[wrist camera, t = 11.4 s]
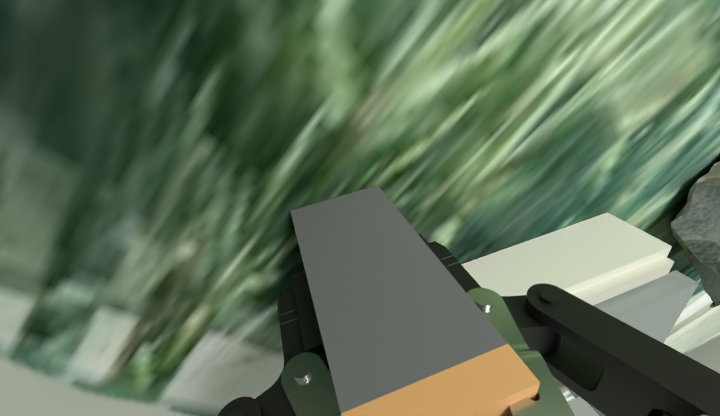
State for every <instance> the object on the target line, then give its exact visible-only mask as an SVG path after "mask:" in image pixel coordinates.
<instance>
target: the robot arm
mask: <svg viewBox="0 0 720 416" xmlns="http://www.w3.org/2000/svg"><path fill="white" fill-rule="evenodd" d="M418 235H419V236H420V237H421V238H422V240H423V241H424V242H425V243H426V245H427V246H428V247H429V248H430V249H431V251H432V252H433V253H434V254H435V255H436V257H437V258H438V259H439V260H440V262H441V263H442V264H443V265H444V266H445V268H446V269H447V270H448V271H449V272H450V274H451V275H452V276H453V277H454V278H455V280H456V281H457V282H458V283H459V285H460V286H461V287H462V288H463V289H464V291H465V292H466V293H467V294H468V295H469V297H470V298H471V299H472V300H473V302H474V303H475V304H476V305H477V306H478V308H479V309H480V310H481V311H482V312H483V314H484V315H485V316H486V317H487V318H488V320H489V321H490V322H491V323H492V325H493V326H494V327H495V328H496V329H497V331H498V332H499V333H500V334H501V335H502V337H503V338H504V339H505V340H506V342H507V343H508V344H509V345H510V346H511V348H512V349H513V350H514V351H515V352H516V354H517V355H518V356H519V357H520V359H521V360H522V361H523V362H524V363H525V365H526V366H527V367H528V368H529V369H530V371H531V372H532V373H533V374H534V375H535V377H536V378H537V379H538V380H539V382H540V385H539V388H538V392H537V395H536V399H535V401H533V400H531V399H530V398H529V397H527V398H525V399H522V400H520V401H518V402H516V403H514V404H511V405H509V408H508V413H507V416H574V414H573V412H572V410H571V408H570V407H569V405H568V403H567V401H566V399H565V397H564V396H563V394H562V392H561V390H560V388H559V386H558V385H557V383H556V381H555V379H554V378H556V379H557V380H558V381H560V382H561V383H562V384H564V385H565V386H566V387H568V388H569V389H570V390H572V391H573V392H575V393H576V394H577V395H579V396H580V397H581V398H583V399H584V400H585V401H587V402H588V403H589V404H591V405H592V406H593V407H595V408H596V409H597V410H599V411H600V412H601V413H603V414H604V415H605V416H720V374H719V373H717V372H715V371H714V370H712V369H710V368H708V367H706V366H704V365H702V364H701V363H699V362H697V361H695V360H693V359H691V358H689V357H688V356H685V355H684V354H682V353H680V352H678V351H676V350H675V349H673V348H671V347H669V346H667V345H665V344H663V343H662V342H660V341H658V340H656V339H654V338H652V337H650V336H648V335H647V334H645V333H643V332H641V331H639V330H637V329H635V328H634V327H632V326H630V325H628V324H626V323H624V322H622V321H621V320H619V319H617V318H615V317H613V316H611V315H609V314H608V313H606V312H604V311H602V310H600V309H598V308H596V307H595V306H593V305H591V304H589V303H587V302H585V301H583V300H581V299H580V298H578V297H576V296H574V295H572V294H570V293H568V292H567V291H565V290H563V289H561V288H559V287H557V286H554V285H551V284H545V283H540V284H535V285H533V286H531V287H530V288H529V289H528V291H527V295H520V296H500V295H499V294H498V293H496V292H495V291H492V290H490V289H487V288H482V287H481V286H480V285H479V284H478V283H477V282H476V280H475V279H474V278H473V277H472V276H471V275H470V274H469V273H468V272H467V270H466V269H465V268H464V267H463V266H462V265H461V264H460V263H459V262H458V260H457V259H456V258H455V257H454V256H452V254H451V253H450V252H449V250H448V249H447V248H446V247H445V246H443V245H441V244H439V243H437V242H435V241H434V242H431V243H428V242H427V241H426V240H425V239H424V238H423V236H422V235H421V234H418ZM291 280H292V285H293V289H290V290H287V291H284V292H281V295H280V298H279V301H278V312H279V320H280V329H281V337H282V345H283V353H284V368H283V371H282V373H281V375H280V377H279V378H278V380H277V381H276V382H275V383H274V384H273V385H272V386H271V387H270V388H269V389H268V390H266V391H265V392H264V393H262V394H261V395H260V396H258V397H257V398H256V399H253V398H251V397H240V398H237V399H235V400H233V401H231V402H230V403H228V404H227V405H226V406H225V407H224V408H223V409H222V410H221V411H220V413H219V414H218V416H341V412H340V408H339V404H338V400H337V396H336V392H335V388H334V384H333V380H332V376H331V372H330V368H329V364H328V360H327V356H326V352H325V348H324V344H323V340H322V336H321V332H320V328H319V324H318V320H317V316H316V312H315V308H314V304H313V300H312V296H311V292H310V288H309V284H308V280H307V276H306V272H305V271H303V272H300V273H297V274H294V275H291Z"/></svg>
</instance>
